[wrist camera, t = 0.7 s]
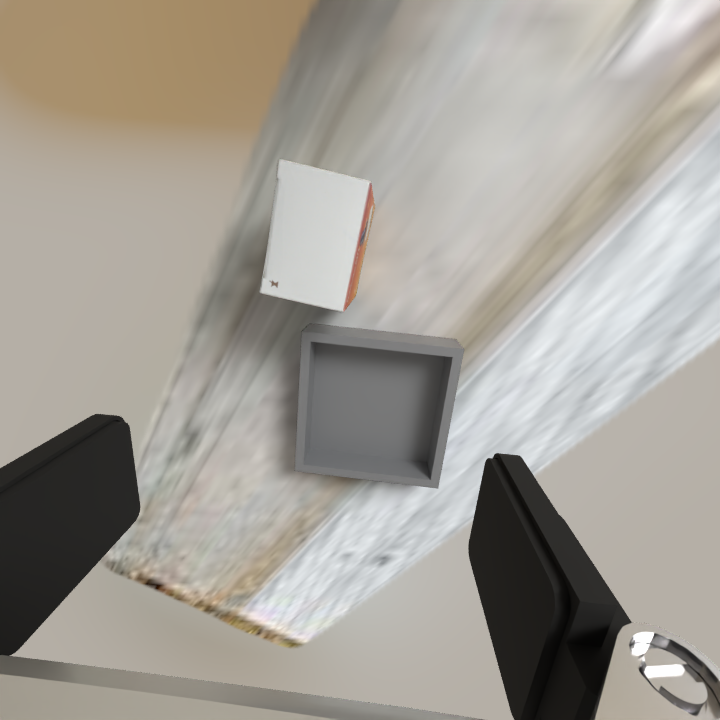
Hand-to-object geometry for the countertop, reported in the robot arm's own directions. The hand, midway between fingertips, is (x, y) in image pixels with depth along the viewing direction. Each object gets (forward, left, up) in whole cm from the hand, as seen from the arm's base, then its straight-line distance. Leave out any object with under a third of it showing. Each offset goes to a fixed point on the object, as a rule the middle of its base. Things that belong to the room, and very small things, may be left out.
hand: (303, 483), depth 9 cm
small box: (-6, -3, -25) cm, 26 cm away
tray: (+8, +2, -25) cm, 26 cm away
